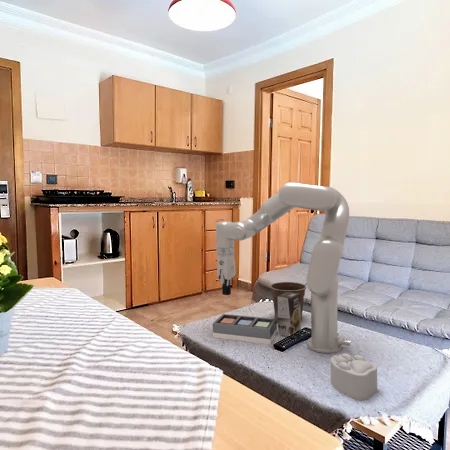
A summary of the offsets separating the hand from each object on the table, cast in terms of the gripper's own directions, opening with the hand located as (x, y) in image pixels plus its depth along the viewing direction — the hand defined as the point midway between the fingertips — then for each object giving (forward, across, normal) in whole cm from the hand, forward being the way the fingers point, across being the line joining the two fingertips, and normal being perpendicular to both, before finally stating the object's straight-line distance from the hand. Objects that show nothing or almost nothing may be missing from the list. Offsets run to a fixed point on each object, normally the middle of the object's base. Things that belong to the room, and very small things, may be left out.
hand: (226, 294), depth 147 cm
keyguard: (+15, 0, -8) cm, 17 cm away
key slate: (+14, 0, -8) cm, 16 cm away
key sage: (+14, 0, -15) cm, 20 cm away
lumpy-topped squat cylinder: (+17, -28, -50) cm, 59 cm away
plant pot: (+17, +22, -22) cm, 35 cm away
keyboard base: (+17, 0, -8) cm, 18 cm away
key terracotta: (+14, 0, 0) cm, 14 cm away
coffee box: (+17, +8, -25) cm, 31 cm away
